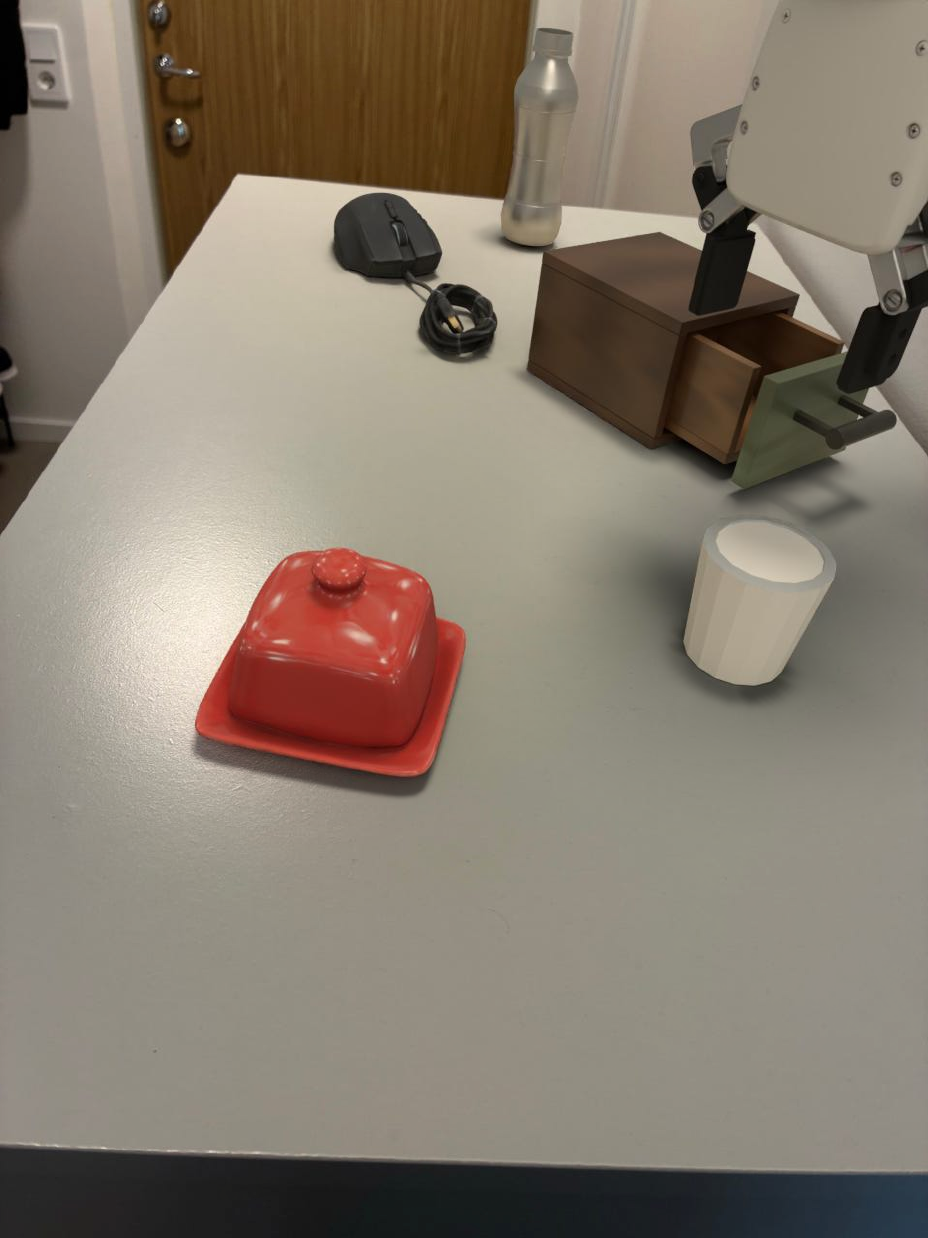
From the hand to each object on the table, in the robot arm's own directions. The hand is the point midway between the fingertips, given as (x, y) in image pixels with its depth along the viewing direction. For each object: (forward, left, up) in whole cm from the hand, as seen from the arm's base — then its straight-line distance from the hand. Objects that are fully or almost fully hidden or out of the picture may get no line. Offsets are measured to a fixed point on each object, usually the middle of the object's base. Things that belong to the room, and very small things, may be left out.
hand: (781, 346), depth 48 cm
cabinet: (-3, -26, -16) cm, 31 cm away
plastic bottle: (+1, -61, -16) cm, 63 cm away
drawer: (-8, -17, -15) cm, 24 cm away
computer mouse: (+15, -46, -16) cm, 51 cm away
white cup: (0, +6, -16) cm, 17 cm away
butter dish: (+22, +9, -16) cm, 28 cm away
